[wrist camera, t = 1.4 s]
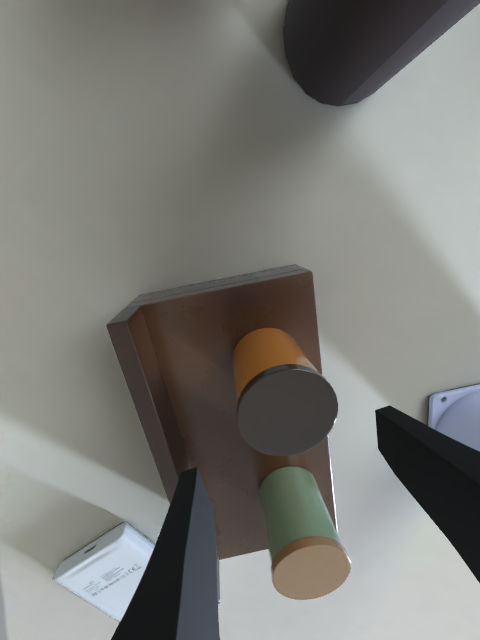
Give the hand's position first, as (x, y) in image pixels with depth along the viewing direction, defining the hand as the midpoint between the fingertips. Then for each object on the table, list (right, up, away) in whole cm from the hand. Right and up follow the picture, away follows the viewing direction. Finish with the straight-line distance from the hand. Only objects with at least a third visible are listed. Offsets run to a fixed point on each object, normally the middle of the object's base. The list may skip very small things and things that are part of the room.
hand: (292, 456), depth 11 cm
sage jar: (+2, -8, +10) cm, 13 cm away
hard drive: (-12, -20, +17) cm, 29 cm away
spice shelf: (-2, -2, +12) cm, 12 cm away
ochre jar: (0, +3, +7) cm, 7 cm away
